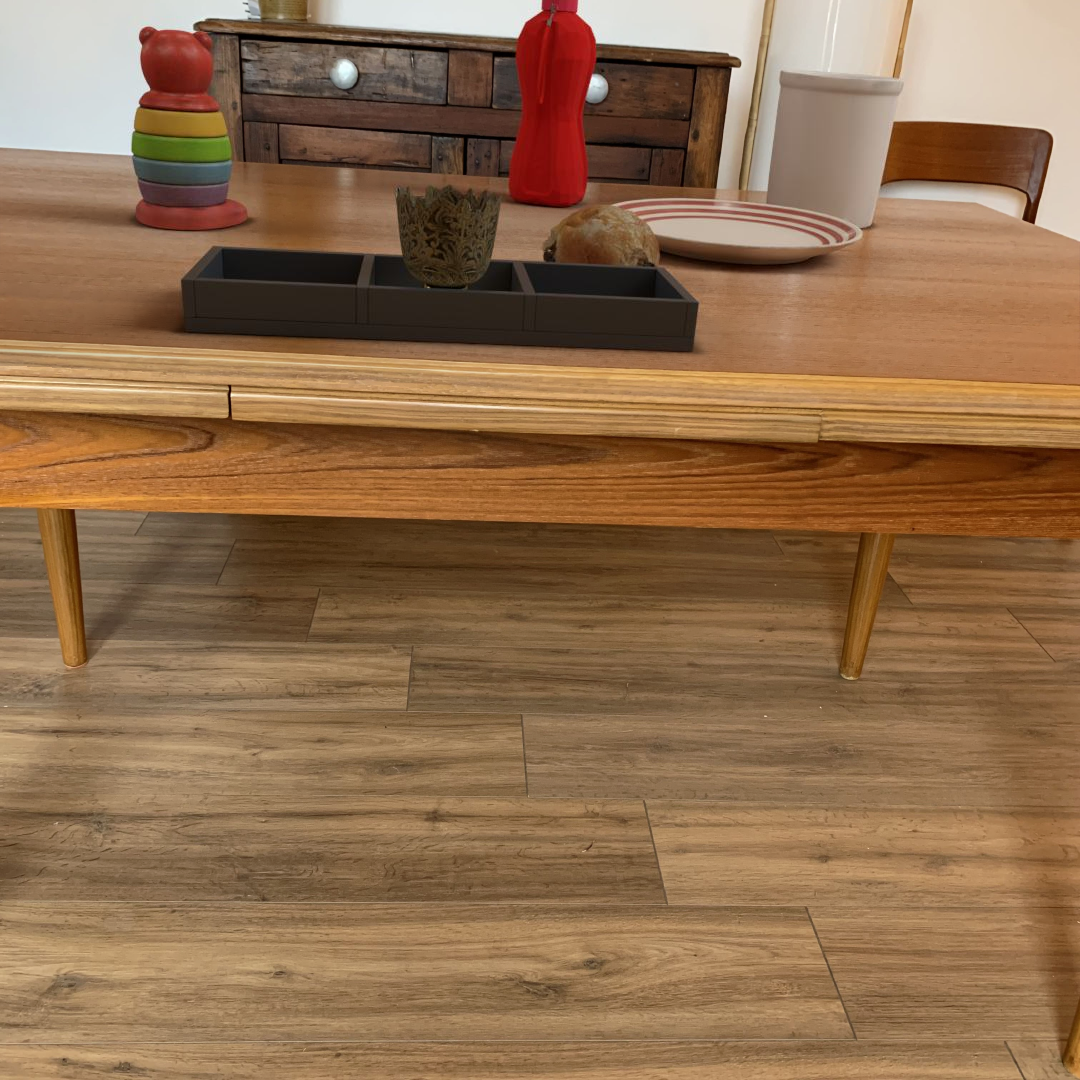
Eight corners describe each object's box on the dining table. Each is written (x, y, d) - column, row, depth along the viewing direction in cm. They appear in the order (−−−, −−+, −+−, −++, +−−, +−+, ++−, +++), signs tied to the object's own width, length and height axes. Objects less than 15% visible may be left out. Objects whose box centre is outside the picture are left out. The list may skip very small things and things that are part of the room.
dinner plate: (829, 287, 101) (835, 251, 100) (559, 248, 111) (561, 214, 109) (876, 248, 124) (882, 217, 122) (649, 218, 134) (652, 189, 132)
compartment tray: (184, 332, 73) (180, 279, 71) (215, 292, 84) (212, 245, 82) (692, 351, 77) (699, 302, 75) (659, 311, 88) (664, 267, 86)
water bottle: (495, 203, 136) (506, -22, 126) (524, 194, 146) (536, -16, 135) (566, 211, 134) (583, -17, 123) (591, 201, 143) (608, -11, 133)
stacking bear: (251, 217, 115) (242, 31, 108) (233, 233, 106) (222, 32, 99) (146, 211, 114) (130, 24, 107) (118, 227, 105) (99, 23, 98)
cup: (461, 290, 84) (465, 182, 81) (516, 311, 79) (522, 197, 76) (375, 297, 80) (375, 184, 77) (427, 320, 75) (430, 200, 72)
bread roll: (602, 330, 95) (647, 251, 91) (514, 263, 97) (553, 183, 93) (648, 310, 103) (691, 237, 99) (565, 249, 105) (604, 175, 101)
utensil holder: (876, 234, 133) (906, 79, 126) (754, 221, 136) (776, 69, 129) (876, 219, 146) (903, 77, 139) (764, 207, 149) (785, 68, 142)
